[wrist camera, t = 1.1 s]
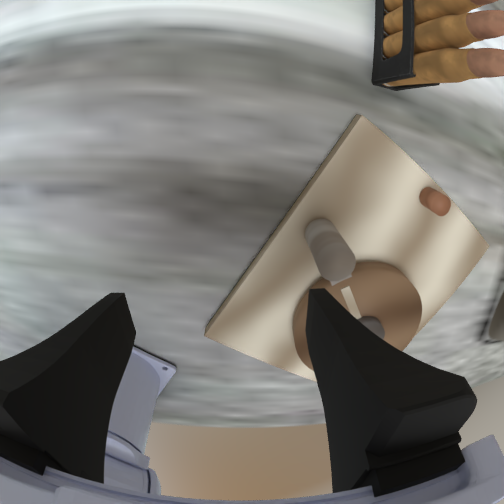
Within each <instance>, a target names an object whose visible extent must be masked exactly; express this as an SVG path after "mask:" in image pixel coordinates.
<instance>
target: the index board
mask: <svg viewBox="0 0 504 504" xmlns="http://www.w3.org/2000/svg"><path fill="white" fill-rule="evenodd" d="M321 218H323V219H327V220H329V221H331V222H332V223H333V224H334V226H335V227H336V229H337V230H338V231H339V233H340V234H341V236H342V237H343V239H344V240H345V242H346V243H347V244H348V246H349V247H350V249H351V250H352V252H353V253H354V255H355V258H356V263H359V262H371V261H372V262H381V263H386V264H389V265H391V266H394V267H395V268H397V269H399V270H400V271H401V272H402V273H404V274H405V276H406V277H407V278H408V279H409V280H410V282H411V283H412V284H413V285H414V287H415V288H416V289H417V291H418V293H419V295H420V298H421V302H422V317H421V321H420V324H419V327H418V329H417V331H416V334H417V333H418V332H419V331H420V330H421V329H422V328H423V327H424V326H425V325H426V324H427V323H428V322H429V320H430V319H431V318H432V317H433V316H434V315H435V314H436V313H437V312H438V311H439V309H440V308H441V307H442V306H443V305H444V304H445V303H446V301H447V300H448V299H449V298H450V297H451V296H452V294H453V293H454V292H455V291H456V290H457V288H458V287H459V286H460V285H461V283H462V282H463V281H464V280H465V278H466V277H467V276H468V275H469V273H470V272H471V271H472V269H473V268H474V267H475V265H476V264H477V263H478V261H479V260H480V259H481V257H482V256H483V255H484V253H485V252H486V250H487V249H488V248H489V245H488V244H487V242H486V241H485V240H484V238H483V237H482V236H481V235H480V233H479V232H478V231H477V230H476V228H475V227H474V226H473V225H472V223H471V222H470V221H469V220H468V219H467V217H466V216H465V215H464V214H463V213H462V211H461V210H460V209H459V208H458V207H457V206H456V204H455V203H454V202H453V201H452V200H451V199H450V198H449V197H448V196H447V194H446V193H445V192H444V191H443V190H442V189H441V188H440V187H439V186H438V185H437V184H436V183H435V182H434V181H433V179H432V178H431V177H430V176H429V175H428V174H427V173H426V172H425V171H424V170H423V169H422V168H421V167H420V166H419V165H418V164H417V163H416V162H415V161H414V160H412V159H411V158H410V157H409V156H408V155H407V154H406V153H405V152H404V151H403V150H402V149H401V148H400V147H399V146H398V145H396V144H395V143H394V142H393V141H392V140H391V139H390V138H389V137H387V136H386V135H385V134H384V133H383V132H382V131H381V130H379V129H378V128H377V127H376V126H375V125H373V124H372V123H371V122H370V121H369V120H367V119H366V118H365V117H364V116H363V115H356V116H355V118H354V119H353V120H352V122H351V123H350V125H349V126H348V128H347V129H346V130H345V132H344V133H343V135H342V136H341V138H340V139H339V140H338V142H337V143H336V145H335V146H334V148H333V149H332V150H331V152H330V153H329V155H328V156H327V158H326V159H325V160H324V162H323V163H322V165H321V166H320V168H319V169H318V170H317V172H316V173H315V175H314V176H313V177H312V179H311V180H310V182H309V183H308V185H307V186H306V187H305V189H304V190H303V192H302V193H301V194H300V196H299V197H298V199H297V200H296V202H295V203H294V204H293V206H292V207H291V209H290V210H289V211H288V213H287V214H286V216H285V217H284V218H283V220H282V221H281V223H280V224H279V225H278V227H277V228H276V230H275V231H274V233H273V234H272V235H271V237H270V238H269V240H268V241H267V242H266V244H265V245H264V247H263V248H262V249H261V251H260V252H259V254H258V255H257V256H256V258H255V259H254V261H253V262H252V263H251V265H250V266H249V268H248V269H247V270H246V272H245V273H244V275H243V276H242V277H241V279H240V280H239V282H238V283H237V284H236V286H235V287H234V289H233V290H232V291H231V293H230V294H229V296H228V297H227V298H226V300H225V301H224V303H223V304H222V305H221V307H220V308H219V310H218V311H217V312H216V314H215V315H214V317H213V318H212V319H211V321H210V322H209V324H208V325H207V326H206V328H205V334H204V336H206V337H208V338H210V339H212V340H214V341H216V342H219V343H221V344H223V345H225V346H228V347H230V348H232V349H235V350H237V351H239V352H242V353H244V354H246V355H249V356H251V357H253V358H256V359H258V360H261V361H263V362H266V363H268V364H271V365H273V366H276V367H278V368H281V369H283V370H286V371H288V372H291V373H294V374H296V375H299V376H302V377H304V378H307V379H310V380H313V381H315V382H317V380H316V377H315V373H314V371H313V370H311V369H309V368H308V367H307V366H306V365H305V364H304V363H303V362H302V361H301V359H300V358H299V356H298V354H297V351H296V348H295V342H294V337H293V329H292V325H293V318H294V313H295V311H296V308H297V306H298V304H299V302H300V301H301V299H302V298H303V296H304V295H305V294H306V292H307V291H308V290H309V289H310V288H311V287H312V286H313V285H314V284H315V283H316V282H318V281H319V280H320V279H321V278H323V277H322V276H321V274H320V272H319V270H318V268H317V265H316V263H315V260H314V258H313V256H312V253H311V251H310V248H309V246H308V244H307V241H306V239H305V230H306V228H307V226H308V225H309V224H310V223H311V222H312V221H314V220H316V219H321ZM416 334H415V335H416ZM415 335H414V336H415Z"/></svg>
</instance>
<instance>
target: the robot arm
mask: <svg viewBox="0 0 504 504" xmlns="http://www.w3.org/2000/svg"><path fill="white" fill-rule="evenodd" d="M305 332H306V339H307V345H308V352H309V355H310V359H311V363H312V366H313V370H314V373H315V377H316V380H317V384H318V387H319V391H320V394H321V398H322V402H323V406H324V413H325V419H326V426H327V433H328V441H329V450H330V460H331V471H332V486H333V487H332V488H333V493H331V494H324V495H317V496H309V497H300V498H290V499H277V500H257V501H256V500H255V501H254V500H253V501H226V500H204V499H191V498H180V497H171V496H164V495H161V486H160V482H159V479H158V477H157V475H156V473H155V471H154V470H153V469H150V468H148V465H149V460H150V458H149V457H148V456H145V455H144V452H145V447H146V443H147V438H148V433H149V429H150V425H151V421H152V416H153V412H154V408H155V404H156V400H157V397H158V395H159V394H160V393H161V391H162V390H163V389H164V387H165V386H166V385H167V383H168V382H169V380H170V379H171V378H172V376H173V375H174V374H175V372H176V367H175V366H173V365H171V364H169V363H167V362H165V361H163V360H160V359H158V358H156V357H154V356H152V355H150V354H148V353H146V352H144V351H142V350H140V349H138V348H136V347H134V346H133V345H134V340H135V335H136V330H135V327H134V324H133V321H132V317H131V314H130V311H129V307H128V304H127V300H126V297H125V293H110V294H108V295H107V296H105V297H104V298H103V299H101V300H100V301H98V302H97V303H96V304H95V305H93V306H92V307H91V308H89V309H88V310H87V311H85V312H84V313H83V314H82V315H80V316H79V317H78V318H76V319H75V320H74V321H72V322H71V323H69V324H68V325H67V326H65V327H64V328H63V329H61V330H60V331H58V332H57V333H55V334H54V335H52V336H51V337H49V338H48V339H46V340H44V341H42V342H41V343H39V344H37V345H36V346H34V347H32V348H29V349H27V350H25V351H23V352H21V353H19V354H17V355H15V356H13V357H10V358H8V359H5V360H2V361H0V504H496V503H498V502H499V501H500V500H502V499H504V456H503V454H502V451H501V449H500V447H499V445H498V443H497V441H496V439H495V437H494V435H489V436H487V437H485V438H483V439H481V440H479V441H476V442H475V443H472V444H470V445H468V446H467V447H465V448H464V449H462V450H460V447H459V445H458V443H459V442H461V436H460V434H459V432H458V431H459V430H460V428H461V427H462V426H463V425H464V423H465V422H466V421H467V420H468V418H469V417H470V416H471V414H472V413H473V411H474V409H475V407H476V403H477V399H476V396H475V394H474V392H473V391H472V389H471V387H470V385H469V384H468V382H467V380H466V379H465V377H462V376H459V375H456V374H453V373H450V372H447V371H444V370H441V369H438V368H435V367H433V366H431V365H428V364H426V363H424V362H421V361H419V360H417V359H415V358H413V357H411V356H409V355H408V354H406V353H404V352H402V351H400V350H398V349H397V348H395V347H393V346H392V345H390V344H389V343H387V342H386V341H384V340H383V339H381V338H380V337H379V336H377V335H376V334H374V333H373V332H372V331H371V330H369V329H368V328H367V327H366V326H364V325H363V324H362V323H361V322H360V321H358V320H357V319H356V318H355V317H354V316H353V315H352V314H351V313H350V312H348V311H347V310H346V309H345V308H344V307H343V306H342V305H341V304H340V303H339V302H338V301H337V300H336V299H335V298H334V297H333V296H332V295H331V294H330V293H329V292H328V291H327V290H326V289H325V288H317V289H309V295H308V307H307V318H306V328H305Z"/></svg>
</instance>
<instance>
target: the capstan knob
mask: <svg viewBox="0 0 504 504" xmlns="http://www.w3.org/2000/svg"><path fill="white" fill-rule="evenodd" d="M305 239H306V241H307V244H308V246H309V248H310V251H311V253H312V256H313V258H314V260H315V263H316V265H317V268H318V270H319V272H320V274H321V276H322V277H323V278H321V279H320V280H319V281H318V282H316V283H315V284H314V285H313V286H312V287H311V288H310V289H317V288H325V289H326V290H327V291H328V292H329V293H330V294H331V295H332V296H333V297H334V298H335V299H336V300H337V301H338V302H339V303H340V304H341V305H342V306H343V307H344V308H345V309H346V310H347V311H348V312H350V313H351V314H352V315H353V316H354V317H355V318H356V319H357V320H358V321H360V322H361V323H362V324H363V325H364V326H366V327H367V328H368V329H369V330H371V331H372V332H373V333H374V334H376V335H377V336H379V337H380V338H381V339H383V340H384V341H386V342H387V343H389V344H390V345H392V346H393V347H395V348H397V349H398V350H400V351H403V350H404V349H405V348H406V347H407V345H408V344H409V343H410V341H411V340H412V338H413V337H414V335H415V334H416V331H417V329H418V327H419V324H420V321H421V317H422V302H421V298H420V295H419V293H418V291H417V289H416V288H415V287H414V285H413V284H412V283H411V282H410V280H409V279H408V278H407V277H406V276H405V274H404V273H402V272H401V271H400V270H399V269H397V268H395V267H394V266H391V265H389V264H386V263H381V262H372V261H371V262H359V263H356V258H355V255H354V253H353V252H352V250H351V249H350V247H349V246H348V244H347V243H346V242H345V240H344V239H343V237H342V236H341V234H340V233H339V231H338V230H337V229H336V227H335V226H334V224H333V223H332V222H331V221H329V220H327V219H323V218H321V219H316V220H314V221H312V222H311V223H310V224H309V225H308V226H307V228H306V230H305ZM308 295H309V290H308V291H307V292H306V294H305V295H304V296H303V298H302V299H301V301H300V302H299V304H298V306H297V308H296V311H295V313H294V318H293V325H292V329H293V337H294V342H295V348H296V351H297V354H298V356H299V358H300V359H301V361H302V362H303V363H304V364H305V365H306V366H307V367H308V368H309V369H311V370H313V366H312V363H311V359H310V355H309V352H308V345H307V339H306V332H305V328H306V318H307V307H308ZM313 371H314V370H313Z"/></svg>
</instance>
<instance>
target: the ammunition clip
mask: <svg viewBox="0 0 504 504" xmlns="http://www.w3.org/2000/svg"><path fill="white" fill-rule="evenodd" d="M495 1H498V0H376V6H375V40H374V58H373V72H372V83H373V85H377V86H380V87H384V88H388V89H392V90H395V91H398V90H405V89H412V88H419V87H427V86H436V85H439V84H440V83H454V82H462V81H466V80H468V79H476V78H483V77H499V76H504V50H501V49H493V48H479V49H473V48H470V49H459V48H461V47H465V46H467V45H469V44H471V43H473V42H477V41H482V40H484V39H490V38H496V37H500V36H503V35H504V11H500V10H487V11H478V12H474V13H468V12H469V11H470V10H472V9H475V8H478V7H481V6H482V5H486V4H489V3H493V2H495Z"/></svg>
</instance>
